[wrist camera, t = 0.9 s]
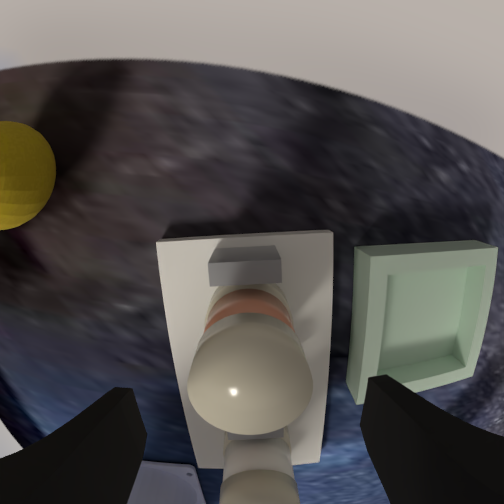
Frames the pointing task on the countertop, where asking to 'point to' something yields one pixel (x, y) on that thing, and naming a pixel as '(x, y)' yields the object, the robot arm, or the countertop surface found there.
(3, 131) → the lemon
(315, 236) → the block
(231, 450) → the cylinder
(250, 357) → the marked fuse
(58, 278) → the countertop surface
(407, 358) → the parts tray
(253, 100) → the countertop surface
